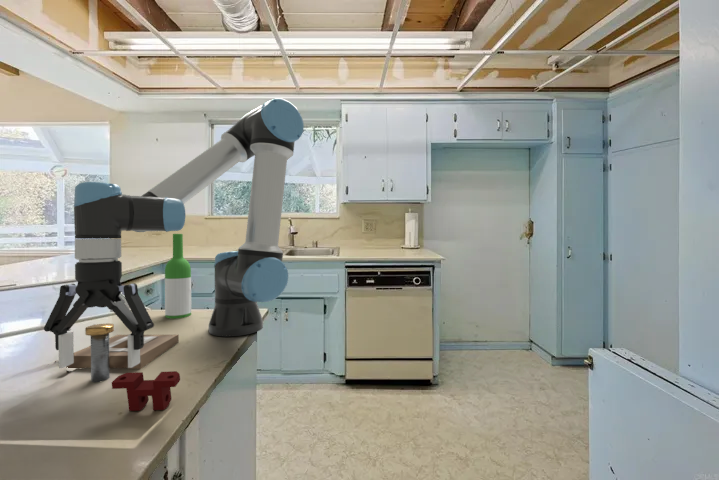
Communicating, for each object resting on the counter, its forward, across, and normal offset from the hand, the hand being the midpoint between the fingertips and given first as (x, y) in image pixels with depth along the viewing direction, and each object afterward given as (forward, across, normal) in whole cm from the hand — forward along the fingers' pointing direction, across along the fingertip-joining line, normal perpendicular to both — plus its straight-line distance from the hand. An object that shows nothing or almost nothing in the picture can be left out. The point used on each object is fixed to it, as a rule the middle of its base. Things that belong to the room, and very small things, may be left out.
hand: (100, 365), depth 70 cm
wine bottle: (+3, +8, -46) cm, 47 cm away
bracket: (0, -11, +11) cm, 16 cm away
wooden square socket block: (+3, +3, -13) cm, 14 cm away
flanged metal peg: (+3, 0, 0) cm, 3 cm away
